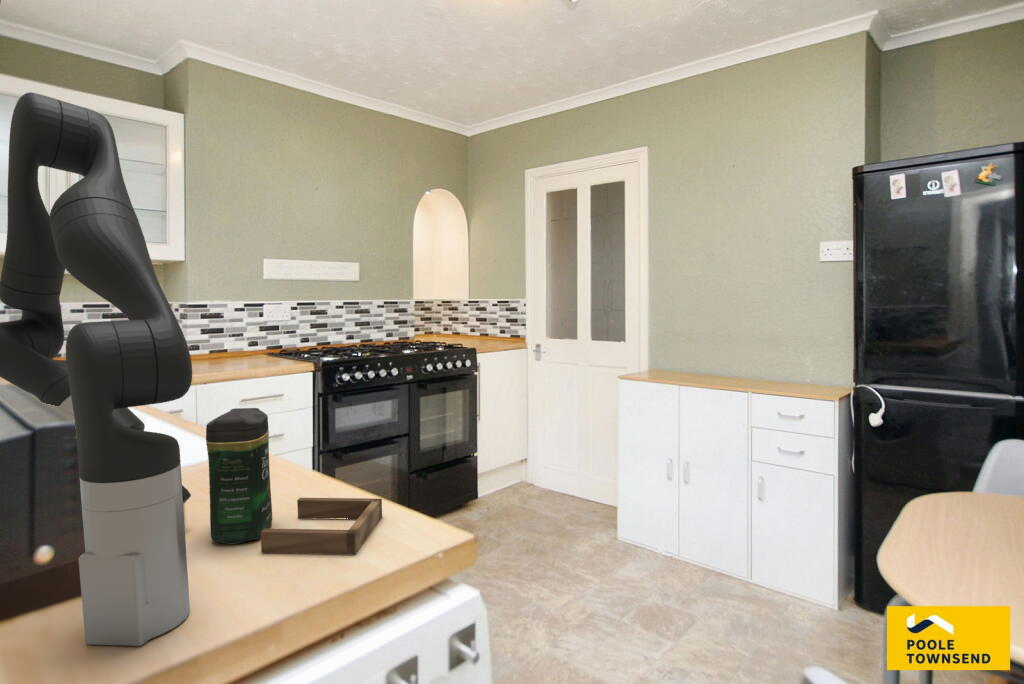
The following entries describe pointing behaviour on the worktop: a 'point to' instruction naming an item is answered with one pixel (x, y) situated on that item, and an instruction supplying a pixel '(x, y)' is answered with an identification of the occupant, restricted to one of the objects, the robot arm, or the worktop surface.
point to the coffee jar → (239, 475)
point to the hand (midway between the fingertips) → (184, 501)
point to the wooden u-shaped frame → (326, 539)
